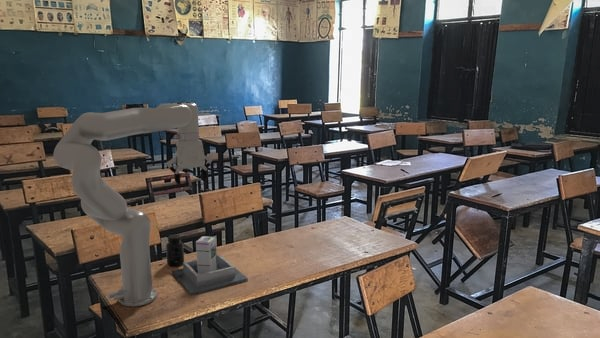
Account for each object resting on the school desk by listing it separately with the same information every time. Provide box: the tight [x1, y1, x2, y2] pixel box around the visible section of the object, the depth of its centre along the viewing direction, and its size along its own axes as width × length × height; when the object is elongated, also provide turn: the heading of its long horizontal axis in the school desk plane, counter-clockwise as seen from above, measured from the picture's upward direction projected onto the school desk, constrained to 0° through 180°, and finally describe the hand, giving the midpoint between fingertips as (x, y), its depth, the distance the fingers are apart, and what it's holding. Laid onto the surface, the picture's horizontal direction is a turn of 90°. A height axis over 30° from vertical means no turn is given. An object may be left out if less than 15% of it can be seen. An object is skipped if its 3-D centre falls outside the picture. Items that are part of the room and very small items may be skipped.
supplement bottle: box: [165, 234, 185, 268], centre depth 183 cm, size 7×7×12 cm
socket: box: [171, 253, 249, 296], centre depth 172 cm, size 22×22×5 cm
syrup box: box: [195, 235, 218, 275], centre depth 171 cm, size 6×6×14 cm
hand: (190, 182), depth 170 cm, fingers open, 9 cm apart
